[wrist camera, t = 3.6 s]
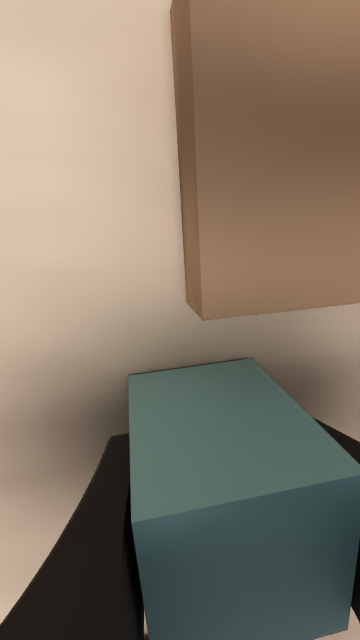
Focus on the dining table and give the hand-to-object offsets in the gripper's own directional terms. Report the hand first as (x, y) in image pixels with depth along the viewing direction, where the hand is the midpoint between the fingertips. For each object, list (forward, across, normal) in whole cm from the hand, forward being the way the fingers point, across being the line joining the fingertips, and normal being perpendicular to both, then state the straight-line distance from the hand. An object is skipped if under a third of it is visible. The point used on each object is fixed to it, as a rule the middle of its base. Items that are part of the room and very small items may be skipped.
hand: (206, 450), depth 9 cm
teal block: (+1, 0, 0) cm, 1 cm away
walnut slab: (+2, -4, -8) cm, 9 cm away
